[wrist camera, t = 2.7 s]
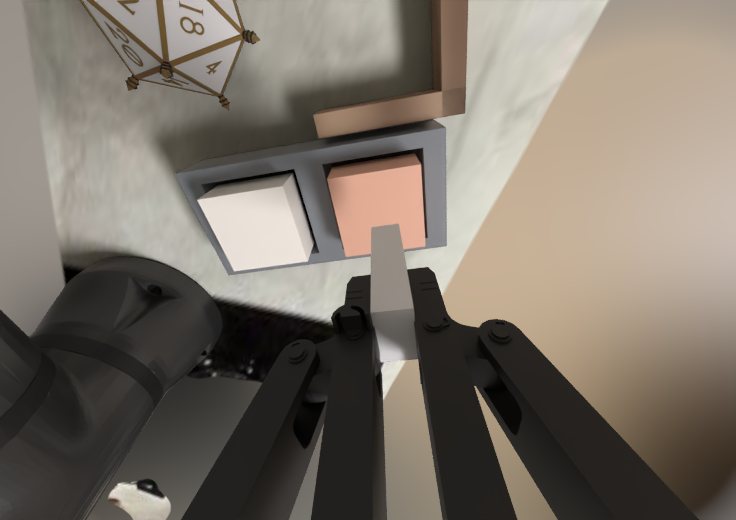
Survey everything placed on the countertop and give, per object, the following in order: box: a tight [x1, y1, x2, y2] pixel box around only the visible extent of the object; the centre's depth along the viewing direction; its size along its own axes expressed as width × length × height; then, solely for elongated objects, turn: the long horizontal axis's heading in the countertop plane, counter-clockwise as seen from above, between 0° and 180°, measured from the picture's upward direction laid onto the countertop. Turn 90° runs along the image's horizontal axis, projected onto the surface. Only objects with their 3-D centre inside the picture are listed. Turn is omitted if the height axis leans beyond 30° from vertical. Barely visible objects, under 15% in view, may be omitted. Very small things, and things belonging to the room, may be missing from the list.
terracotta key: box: [327, 153, 426, 257], centre depth 21 cm, size 6×6×3 cm
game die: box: [80, 0, 260, 110], centre depth 15 cm, size 9×8×10 cm
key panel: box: [175, 120, 447, 275], centre depth 23 cm, size 19×9×4 cm, turn 99°
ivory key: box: [197, 173, 314, 271], centre depth 21 cm, size 6×6×3 cm
